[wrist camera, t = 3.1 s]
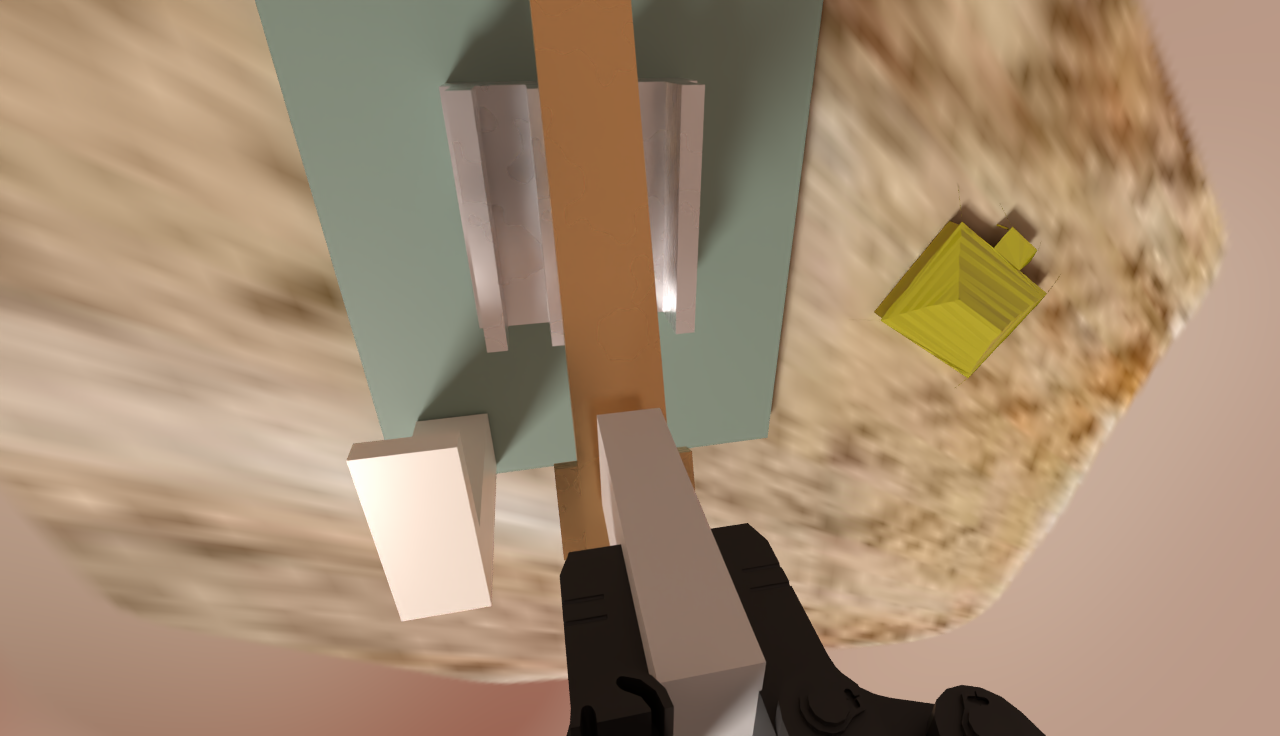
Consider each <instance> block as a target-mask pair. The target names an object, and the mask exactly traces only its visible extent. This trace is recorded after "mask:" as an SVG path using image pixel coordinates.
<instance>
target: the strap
mask: <svg viewBox="0 0 1280 736" xmlns="http://www.w3.org/2000/svg"><path fill="white" fill-rule="evenodd" d="M529 4H530V14H531V23H532V33H533V43H534V52H535V62H536V72H537V81H538V91H539V101H540V110H541V120H542V130H543V139H544V149H545V159H546V169H547V178H548V188H549V198H550V207H551V217H552V227H553V236H554V246H555V256H556V265H557V275H558V285H559V294H560V304H561V314H562V323H563V333H564V343H565V352H566V362H567V372H568V382H569V391H570V401H571V411H572V420H573V430H574V440H575V449H576V459H577V461H571V462H563V463H555V464H554V470H555V479H556V489H557V498H558V507H559V517H560V526H561V535H562V544H563V554H564V560H566V558H567V556H568V553H569V552H574V551H580V550H587V549H593V548H600V547H606V546H610V543H609V538H608V532H607V527H606V522H605V517H604V512H603V507H602V495H601V478H600V462H599V445H598V428H597V415H601V414H610V413H618V412H627V411H636V410H644V409H653V408H660V409H661V411H662V414H663V416H664V419H665V421H666V423H667V417H666V405H665V393H664V382H663V370H662V358H661V346H660V335H659V323H658V311H657V299H656V288H655V276H654V264H653V253H652V241H651V229H650V217H649V206H648V194H647V182H646V170H645V159H644V147H643V135H642V123H641V112H640V100H639V88H638V77H637V65H636V53H635V41H634V30H633V18H632V6H631V0H529ZM677 450H678V452H679V454H680V457H681V459H682V462H683V464H684V466H685V469H686V471H687V474H688V476H689V478H690V481H691V483H692V486H693V488H694V490H695V484H694V472H693V460H692V451H691V450H690V449H689V448H687V447H686V446H684V447H677Z"/></svg>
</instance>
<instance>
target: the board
mask: <svg viewBox="0 0 1280 736" xmlns="http://www.w3.org/2000/svg"><path fill="white" fill-rule="evenodd" d="M255 2H256V6H257V9H258V12H259V16H260V19H261V23H262V26H263V29H264V33H265V36H266V40H267V43H268V46H269V50H270V53H271V56H272V60H273V63H274V67H275V70H276V73H277V77H278V80H279V84H280V87H281V90H282V94H283V97H284V101H285V104H286V107H287V111H288V114H289V118H290V121H291V124H292V128H293V131H294V134H295V138H296V141H297V145H298V148H299V151H300V155H301V158H302V162H303V165H304V168H305V172H306V175H307V179H308V182H309V185H310V189H311V192H312V196H313V199H314V202H315V206H316V209H317V213H318V216H319V219H320V223H321V226H322V229H323V233H324V236H325V240H326V243H327V246H328V250H329V253H330V257H331V260H332V263H333V267H334V270H335V274H336V277H337V280H338V284H339V287H340V291H341V294H342V297H343V301H344V304H345V308H346V311H347V314H348V318H349V321H350V324H351V328H352V331H353V335H354V338H355V341H356V345H357V348H358V352H359V355H360V358H361V362H362V365H363V369H364V372H365V375H366V379H367V382H368V386H369V389H370V392H371V396H372V399H373V403H374V406H375V409H376V413H377V416H378V419H379V423H380V426H381V430H382V433H383V436H384V440H389V439H397V438H406V437H412V436H413V432H414V428H415V424H416V422H417V421H426V420H434V419H443V418H452V417H460V416H469V415H478V414H486V413H487V414H488V420H489V426H490V431H491V437H492V443H493V448H494V454H495V460H496V465H497V471H496V474H497V473H504V472H512V471H519V470H527V469H534V468H542V467H549V466H554V464H555V463H563V462H571V461H577V459H576V449H575V440H574V430H573V420H572V411H571V401H570V391H569V382H568V372H567V362H566V352H565V345H561V346H552V340H551V332H550V325H549V322H545V323H534V324H523V325H512V326H509V330H508V351H499V352H489V353H487V348H486V342H485V336H484V330H483V328H479V322H478V316H477V310H476V304H475V298H474V293H473V287H472V281H471V275H470V269H469V263H468V257H467V251H466V245H465V239H464V233H463V227H462V222H461V216H460V210H459V204H458V198H457V192H456V186H455V180H454V174H453V168H452V162H451V156H450V151H449V145H448V139H447V133H446V127H445V121H444V115H443V109H442V103H441V97H440V91H439V86H441V85H443V84H444V83H464V82H510V81H537V72H536V62H535V52H534V43H533V33H532V23H531V14H530V4H529V0H255ZM631 6H632V18H633V30H634V41H635V53H636V65H637V77H638V79H648V78H685V79H691V80H696V81H697V83H699V84H704V85H705V97H704V121H703V144H702V168H701V191H700V215H699V238H698V262H697V285H696V309H695V332H693V333H683V334H675V332H674V330H673V329H672V327H671V325H670V323H669V322H668V320H667V318H666V316H665V314H664V313H663V312H658V323H659V335H660V346H661V358H662V370H663V382H664V393H665V405H666V417H667V426H668V428H669V430H670V433H671V435H672V438H673V440H674V442H675V445H676V447H684V446H686V447H687V448H693V447H700V446H708V445H715V444H723V443H730V442H738V441H745V440H753V439H761V438H767V437H768V429H769V421H770V413H771V405H772V397H773V390H774V382H775V374H776V366H777V358H778V351H779V343H780V335H781V327H782V319H783V311H784V304H785V296H786V288H787V280H788V272H789V264H790V257H791V249H792V241H793V233H794V225H795V217H796V210H797V202H798V194H799V186H800V178H801V171H802V163H803V155H804V147H805V139H806V131H807V124H808V116H809V108H810V100H811V92H812V84H813V77H814V69H815V61H816V53H817V45H818V37H819V30H820V22H821V14H822V6H823V0H631Z"/></svg>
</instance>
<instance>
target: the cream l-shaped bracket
mask: <svg viewBox="0 0 1280 736" xmlns="http://www.w3.org/2000/svg"><path fill="white" fill-rule="evenodd" d="M347 464H348V467H349V470H350V473H351V476H352V479H353V481H354V484H355V487H356V490H357V493H358V496H359V499H360V502H361V505H362V508H363V510H364V513H365V516H366V519H367V522H368V525H369V528H370V531H371V534H372V537H373V539H374V542H375V545H376V548H377V551H378V554H379V557H380V560H381V563H382V566H383V568H384V571H385V574H386V577H387V580H388V583H389V586H390V589H391V592H392V595H393V597H394V600H395V603H396V606H397V609H398V612H399V615H400V618H401V621H407V620H413V619H419V618H424V617H430V616H436V615H442V614H448V613H454V612H460V611H466V610H472V609H477V608H483V607H489V606H492V579H493V552H494V525H495V498H496V471H497V465H496V460H495V454H494V448H493V443H492V437H491V431H490V426H489V420H488V414H487V413H486V414H478V415H469V416H460V417H452V418H443V419H434V420H426V421H417V422H416V424H415V428H414V432H413V436H412V437H406V438H397V439H389V440H380V441H372V442H364V443H355V444H353V446H352V448H351V451H350V453H349V456H348V458H347Z"/></svg>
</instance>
